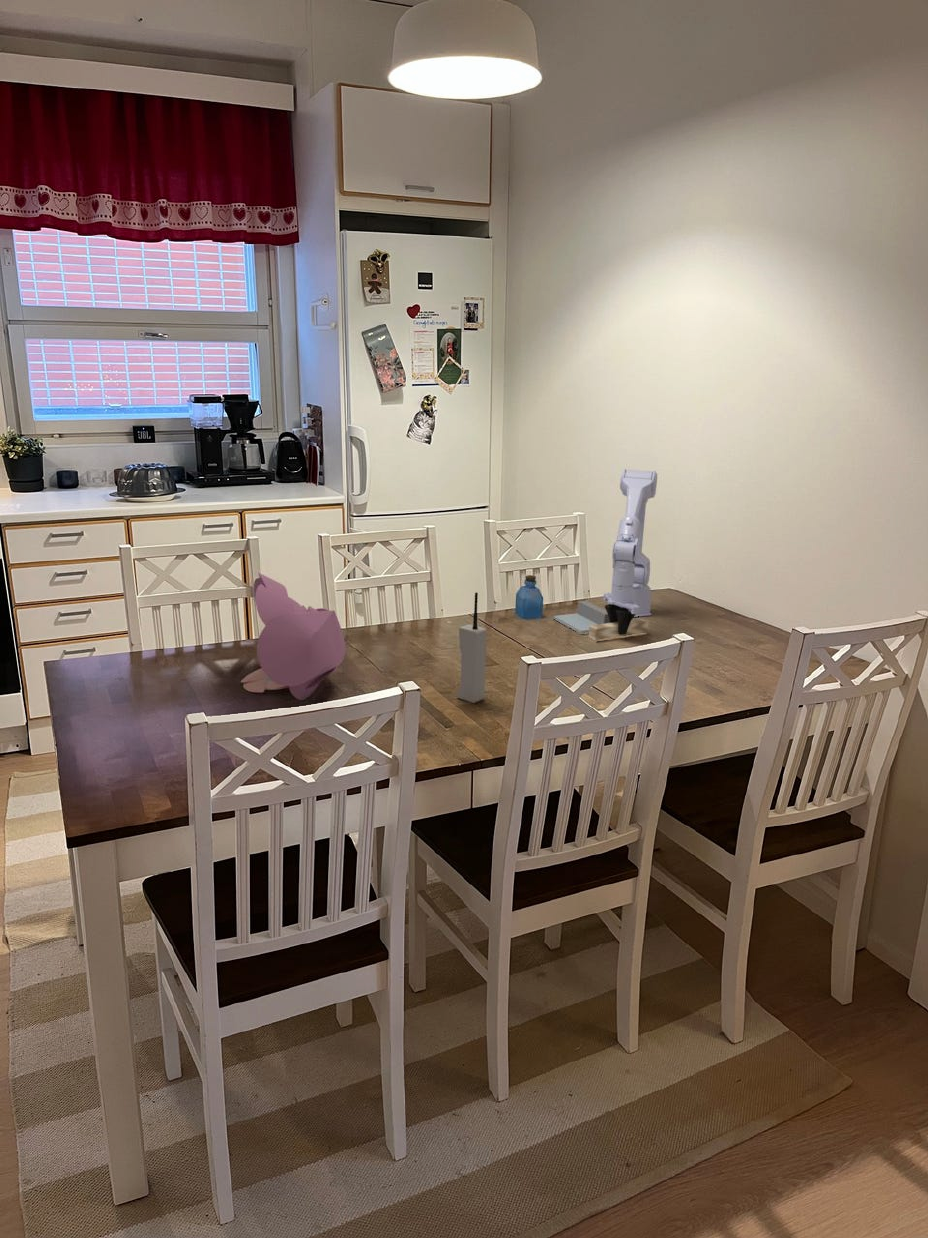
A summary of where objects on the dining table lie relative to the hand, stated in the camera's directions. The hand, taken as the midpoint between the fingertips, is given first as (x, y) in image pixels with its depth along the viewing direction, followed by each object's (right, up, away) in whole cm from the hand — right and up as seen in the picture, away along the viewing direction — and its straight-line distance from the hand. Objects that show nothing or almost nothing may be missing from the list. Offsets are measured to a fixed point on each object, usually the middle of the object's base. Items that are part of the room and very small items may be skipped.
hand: (618, 632), depth 254 cm
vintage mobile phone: (-41, -15, -47) cm, 64 cm away
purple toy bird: (-84, -11, -41) cm, 94 cm away
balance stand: (-5, +2, +11) cm, 13 cm away
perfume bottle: (-24, +4, +17) cm, 30 cm away
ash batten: (0, -1, 0) cm, 2 cm away
